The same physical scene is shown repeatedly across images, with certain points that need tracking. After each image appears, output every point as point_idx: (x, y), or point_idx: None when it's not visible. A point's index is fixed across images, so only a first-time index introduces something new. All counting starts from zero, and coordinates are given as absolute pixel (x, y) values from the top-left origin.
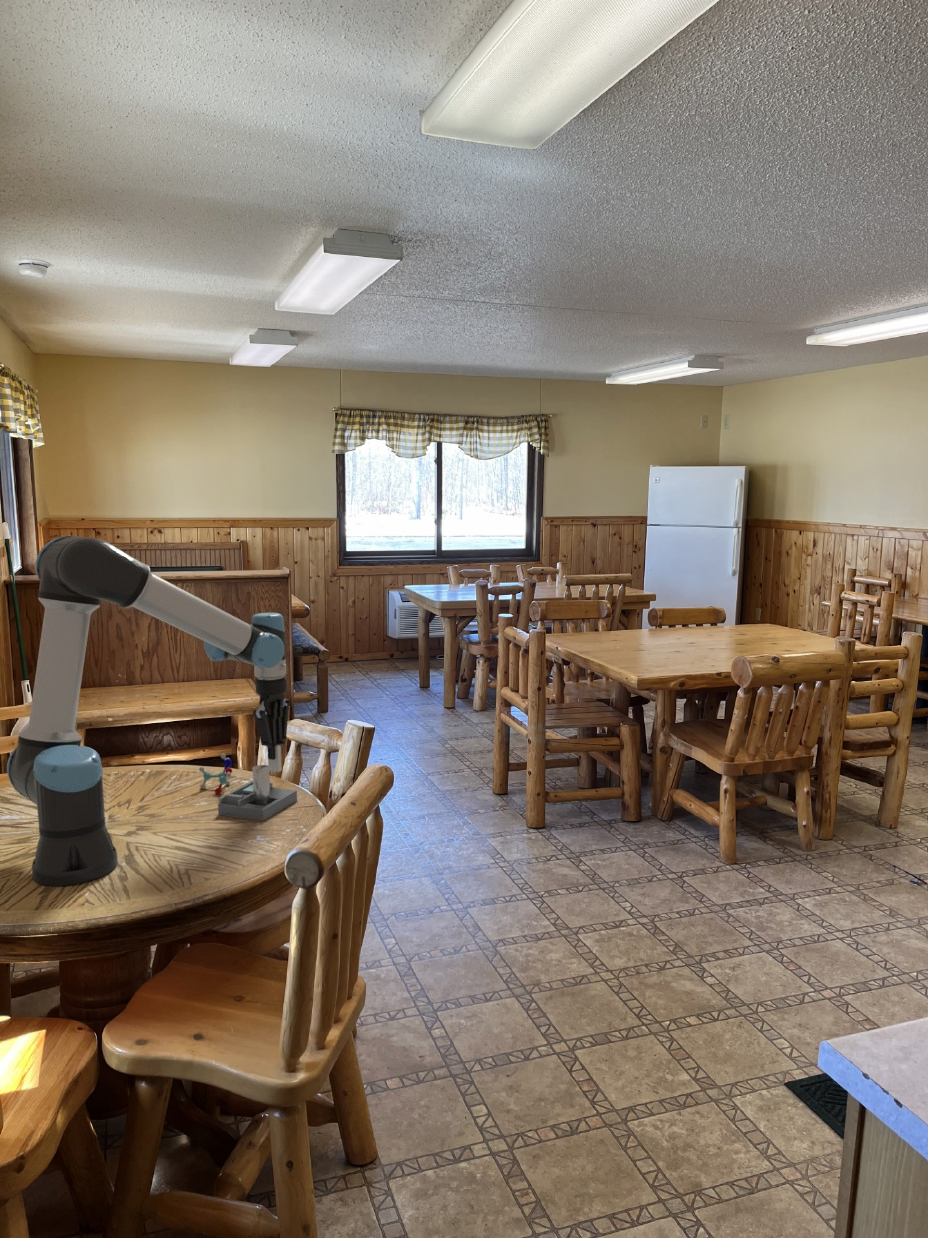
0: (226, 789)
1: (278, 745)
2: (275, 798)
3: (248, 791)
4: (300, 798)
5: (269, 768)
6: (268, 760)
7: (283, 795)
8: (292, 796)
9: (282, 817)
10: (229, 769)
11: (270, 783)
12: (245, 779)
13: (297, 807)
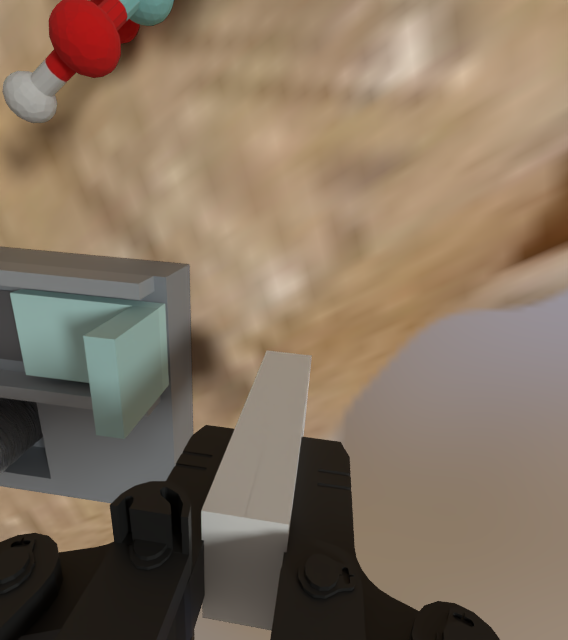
0: (220, 19)
1: (245, 620)
2: (49, 468)
3: (20, 330)
4: None
5: (263, 364)
6: (250, 392)
7: (96, 485)
8: None
9: None
10: (60, 54)
11: None
12: (453, 23)
13: None
